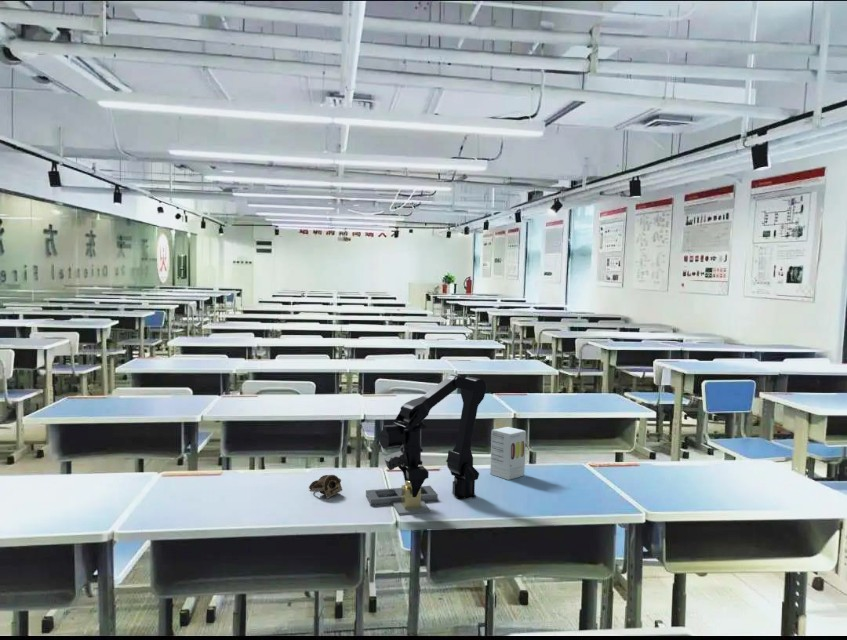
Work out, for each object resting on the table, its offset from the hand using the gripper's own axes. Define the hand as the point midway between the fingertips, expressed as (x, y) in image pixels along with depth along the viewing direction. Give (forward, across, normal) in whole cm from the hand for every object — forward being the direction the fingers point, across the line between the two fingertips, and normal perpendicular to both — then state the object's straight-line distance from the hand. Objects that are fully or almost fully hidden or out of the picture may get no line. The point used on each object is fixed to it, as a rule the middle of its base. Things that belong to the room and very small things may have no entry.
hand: (411, 492), depth 197 cm
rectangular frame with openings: (+5, -9, -1) cm, 10 cm away
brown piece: (+5, -20, -24) cm, 32 cm away
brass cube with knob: (+4, 0, 0) cm, 4 cm away
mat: (+5, 0, 0) cm, 5 cm away
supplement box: (+5, -25, +43) cm, 50 cm away
